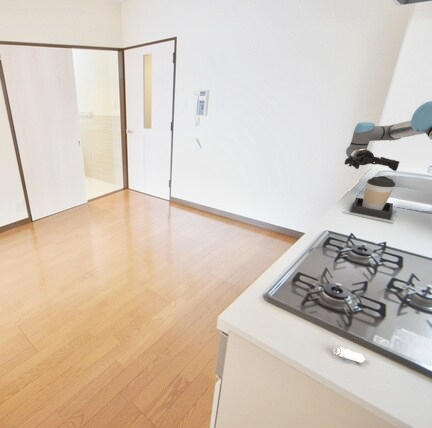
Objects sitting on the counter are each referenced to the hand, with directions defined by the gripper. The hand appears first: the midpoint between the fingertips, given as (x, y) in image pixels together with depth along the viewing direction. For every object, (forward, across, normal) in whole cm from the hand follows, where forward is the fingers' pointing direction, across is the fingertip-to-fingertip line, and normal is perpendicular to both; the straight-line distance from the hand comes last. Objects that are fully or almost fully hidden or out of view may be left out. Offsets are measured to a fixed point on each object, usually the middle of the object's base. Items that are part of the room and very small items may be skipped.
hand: (376, 167), depth 128 cm
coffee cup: (+10, 0, -18) cm, 20 cm away
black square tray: (+10, 0, -18) cm, 20 cm away
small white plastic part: (+104, +29, -19) cm, 109 cm away
